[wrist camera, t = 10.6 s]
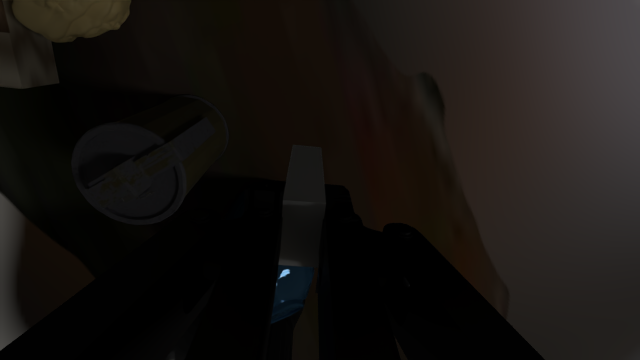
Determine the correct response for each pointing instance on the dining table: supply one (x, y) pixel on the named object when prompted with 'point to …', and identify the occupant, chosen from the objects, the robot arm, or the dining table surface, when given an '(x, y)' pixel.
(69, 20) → the sculpture
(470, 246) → the dining table surface
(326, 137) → the dining table surface
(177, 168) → the canister
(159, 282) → the robot arm
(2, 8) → the board
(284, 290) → the wine bottle
